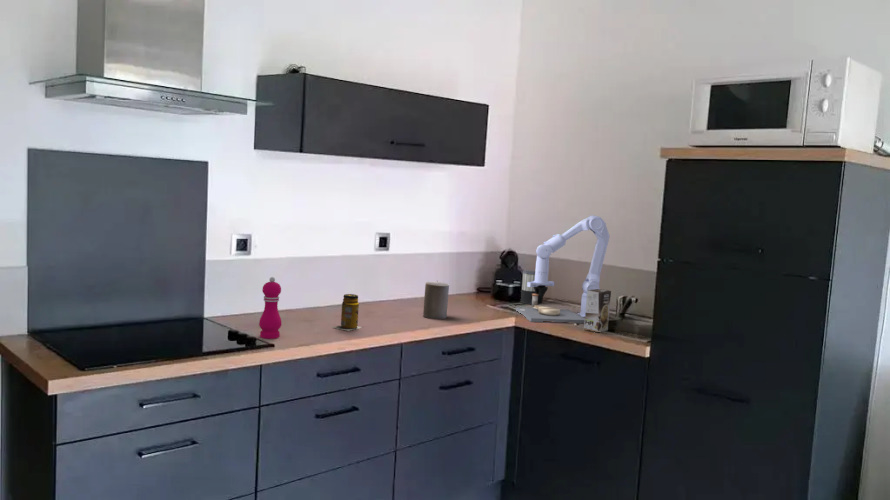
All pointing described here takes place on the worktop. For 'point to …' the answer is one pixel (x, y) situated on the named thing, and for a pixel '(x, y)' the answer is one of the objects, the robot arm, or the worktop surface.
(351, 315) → the condiment
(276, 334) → the pepper mill
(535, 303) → the cam dial
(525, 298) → the milk frother
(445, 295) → the pillar candle
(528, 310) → the stand board
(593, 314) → the coffee box
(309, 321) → the worktop surface
